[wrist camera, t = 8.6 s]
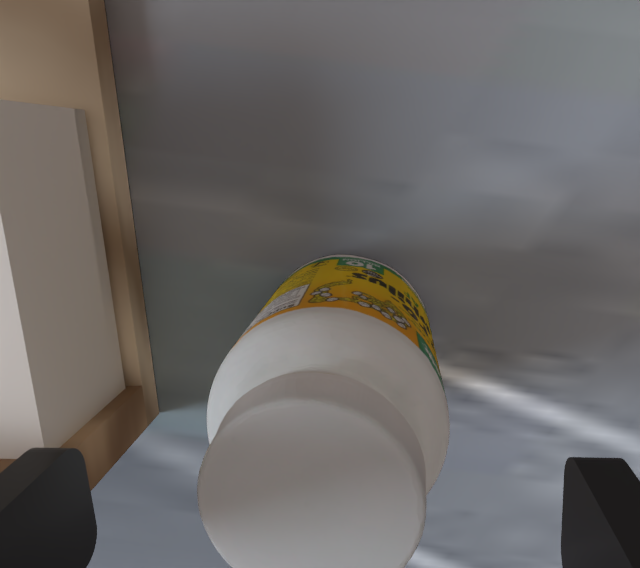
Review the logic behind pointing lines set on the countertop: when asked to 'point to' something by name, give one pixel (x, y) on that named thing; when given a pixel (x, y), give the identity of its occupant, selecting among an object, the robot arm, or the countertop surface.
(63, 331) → the socket block
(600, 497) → the robot arm
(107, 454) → the frame
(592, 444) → the countertop surface
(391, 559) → the supplement bottle
